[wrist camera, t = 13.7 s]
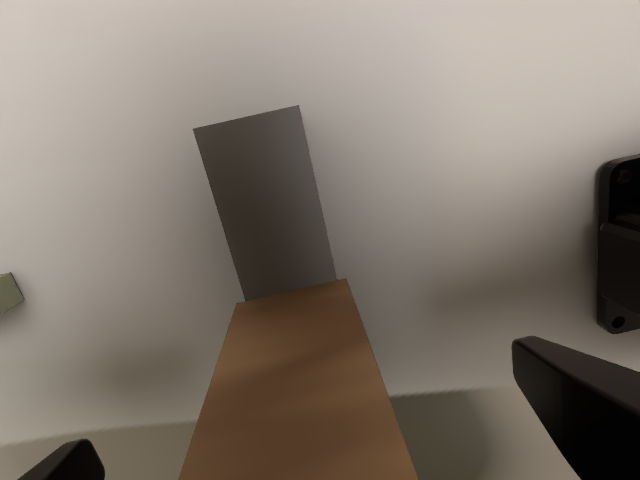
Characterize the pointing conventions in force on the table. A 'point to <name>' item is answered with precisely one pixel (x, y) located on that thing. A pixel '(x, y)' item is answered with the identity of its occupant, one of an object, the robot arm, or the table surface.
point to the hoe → (287, 327)
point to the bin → (8, 293)
